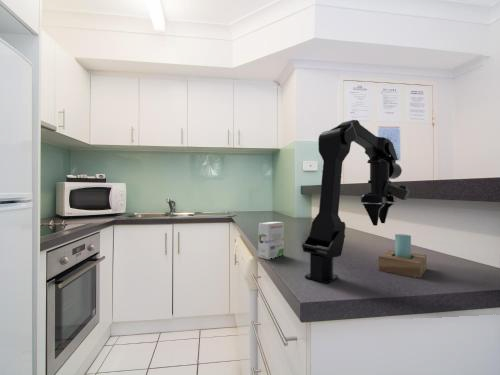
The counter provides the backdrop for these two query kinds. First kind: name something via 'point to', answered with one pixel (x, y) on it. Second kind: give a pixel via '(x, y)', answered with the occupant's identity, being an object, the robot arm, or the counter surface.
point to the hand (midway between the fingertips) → (379, 224)
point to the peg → (403, 246)
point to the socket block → (403, 264)
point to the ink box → (271, 240)
